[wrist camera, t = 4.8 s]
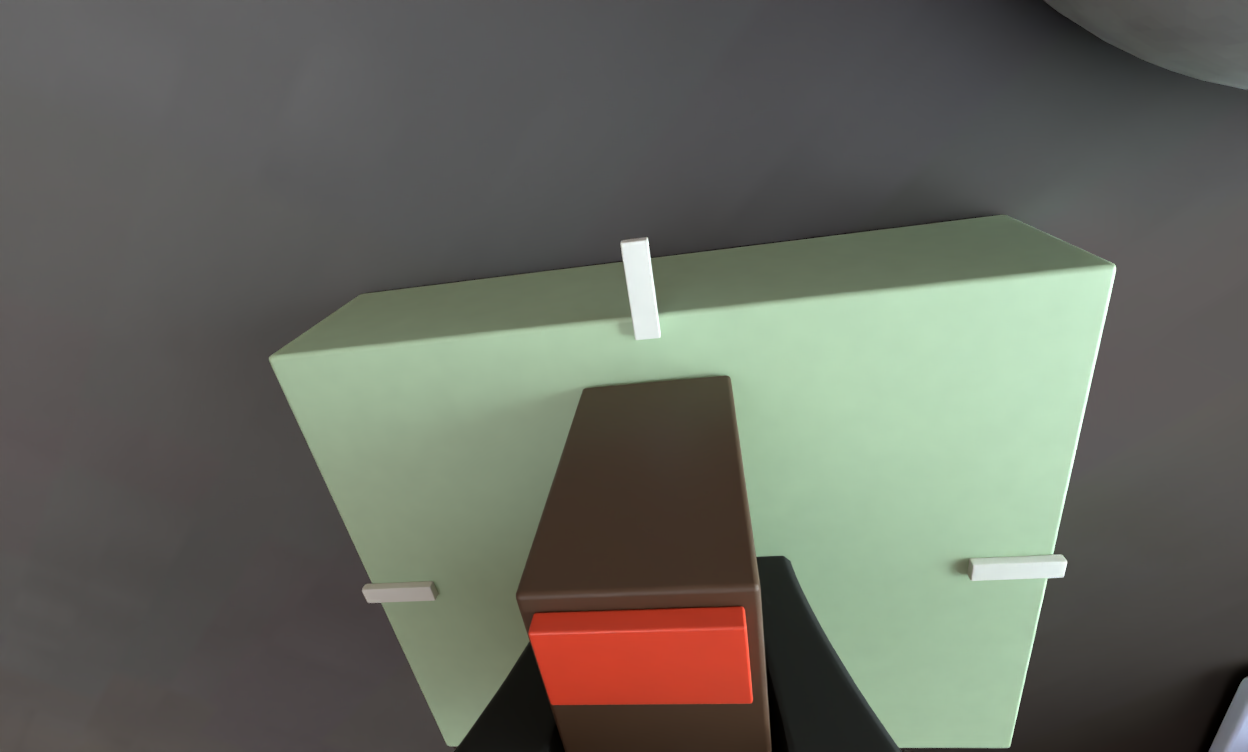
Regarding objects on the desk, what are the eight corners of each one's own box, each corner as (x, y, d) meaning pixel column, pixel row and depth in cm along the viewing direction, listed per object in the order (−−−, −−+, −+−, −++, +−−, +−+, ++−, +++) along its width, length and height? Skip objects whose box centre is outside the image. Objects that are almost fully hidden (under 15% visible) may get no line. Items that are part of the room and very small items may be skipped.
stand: (1022, 143, 10) (1160, 173, 7) (952, 655, 15) (1013, 790, 12) (334, 240, 11) (220, 294, 9) (492, 664, 17) (452, 783, 14)
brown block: (758, 721, 12) (790, 1016, 8) (651, 721, 12) (635, 1004, 9) (730, 373, 9) (764, 609, 5) (581, 387, 9) (504, 617, 5)
